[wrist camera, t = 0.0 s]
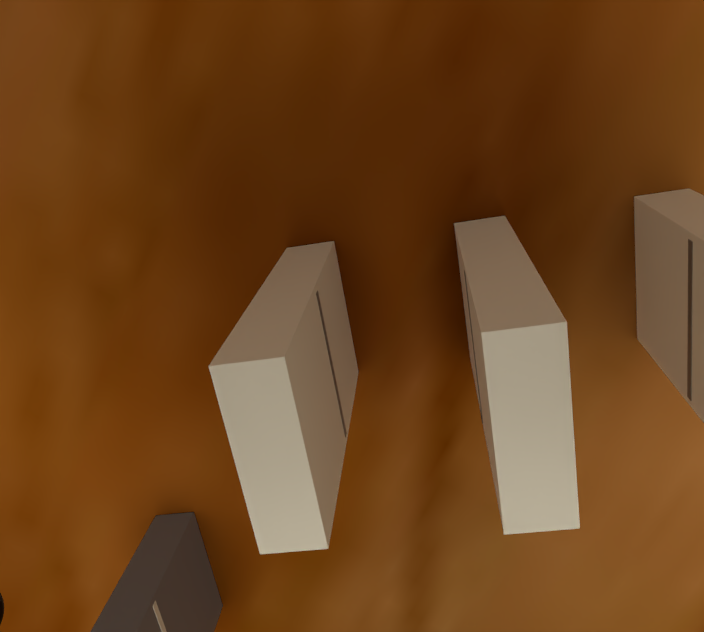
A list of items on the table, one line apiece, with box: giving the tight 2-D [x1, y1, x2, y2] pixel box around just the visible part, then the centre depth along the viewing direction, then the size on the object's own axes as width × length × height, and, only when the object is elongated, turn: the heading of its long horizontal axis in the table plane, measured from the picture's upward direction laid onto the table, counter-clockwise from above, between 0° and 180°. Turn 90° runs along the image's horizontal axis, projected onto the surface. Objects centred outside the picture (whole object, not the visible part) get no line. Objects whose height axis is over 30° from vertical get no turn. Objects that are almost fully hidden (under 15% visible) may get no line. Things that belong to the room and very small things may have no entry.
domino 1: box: [209, 241, 359, 554], centre depth 18 cm, size 2×5×9 cm, turn 10°
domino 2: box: [454, 216, 580, 535], centre depth 18 cm, size 2×5×9 cm, turn 10°
